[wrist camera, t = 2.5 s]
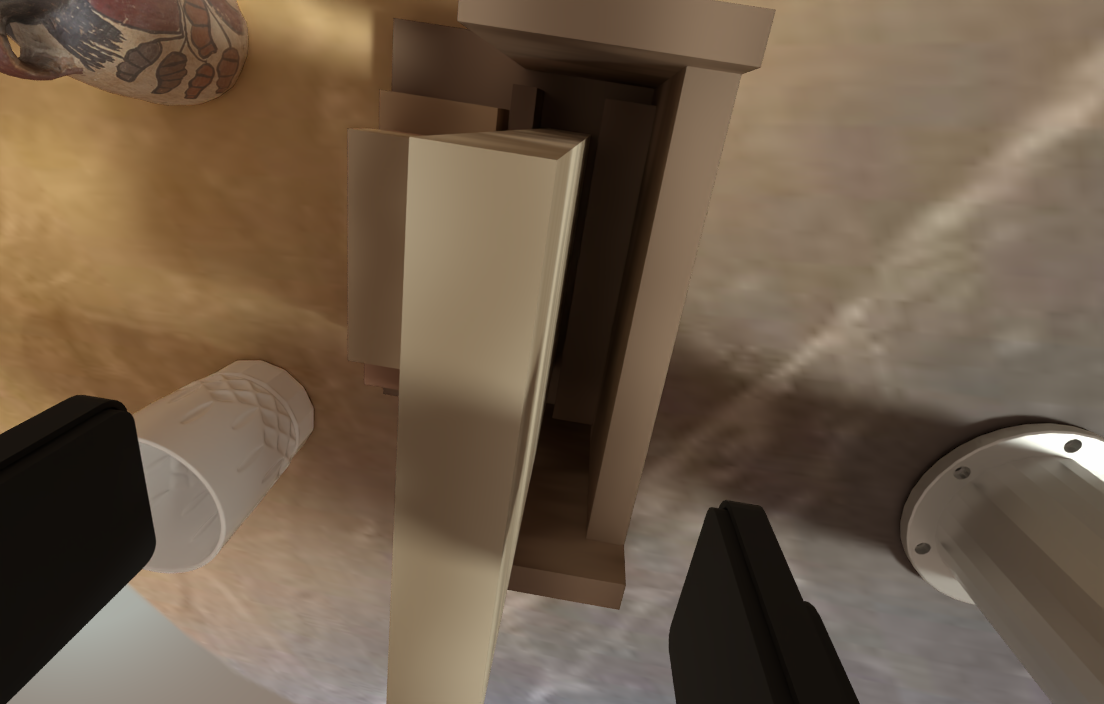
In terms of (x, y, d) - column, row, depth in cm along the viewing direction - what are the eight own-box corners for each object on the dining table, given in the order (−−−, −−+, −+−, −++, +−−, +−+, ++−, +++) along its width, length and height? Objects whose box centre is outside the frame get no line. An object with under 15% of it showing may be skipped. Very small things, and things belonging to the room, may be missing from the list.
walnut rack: (689, 67, 26) (775, 9, 13) (613, 420, 33) (619, 609, 20) (404, 23, 26) (208, -76, 13) (392, 382, 33) (258, 545, 20)
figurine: (257, -32, 26) (-6, -151, 15) (244, 125, 28) (14, 126, 17) (106, -84, 25) (-277, -245, 14) (108, 80, 28) (-213, 51, 17)
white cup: (179, 398, 35) (29, 495, 26) (251, 324, 33) (113, 402, 24) (275, 480, 37) (166, 598, 28) (349, 416, 35) (257, 521, 25)
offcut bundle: (509, 109, 26) (474, 104, 19) (482, 362, 31) (447, 431, 24) (403, 93, 26) (330, 82, 19) (394, 347, 31) (334, 412, 24)
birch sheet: (591, 134, 26) (557, 161, 7) (553, 366, 30) (475, 739, 12) (548, 128, 26) (408, 136, 7) (518, 360, 30) (385, 722, 12)
